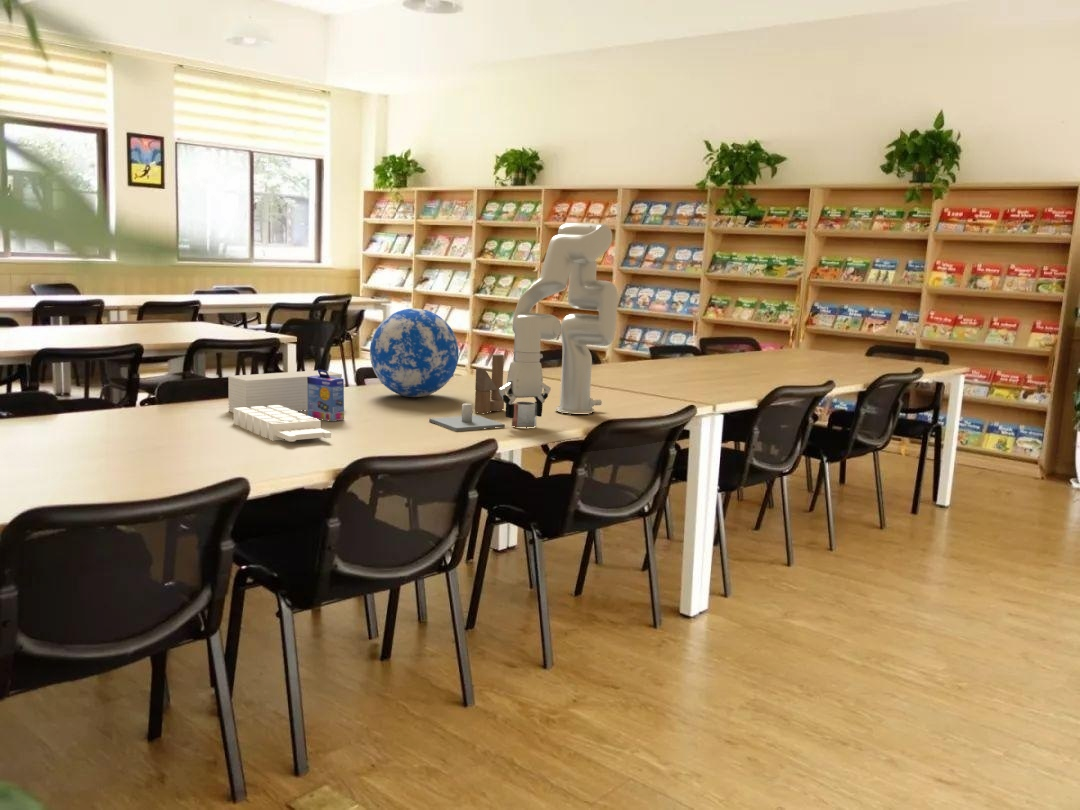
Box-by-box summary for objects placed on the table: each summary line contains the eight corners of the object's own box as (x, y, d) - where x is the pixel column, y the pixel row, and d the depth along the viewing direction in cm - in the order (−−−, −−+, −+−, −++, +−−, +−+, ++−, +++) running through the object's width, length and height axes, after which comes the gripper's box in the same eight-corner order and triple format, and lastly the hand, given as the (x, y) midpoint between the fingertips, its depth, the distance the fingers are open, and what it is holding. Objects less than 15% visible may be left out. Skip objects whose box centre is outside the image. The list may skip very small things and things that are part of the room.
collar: (527, 424, 280) (528, 400, 279) (539, 428, 275) (540, 404, 274) (508, 425, 276) (509, 402, 275) (520, 429, 271) (521, 405, 270)
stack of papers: (245, 417, 273) (245, 380, 271) (228, 412, 280) (228, 375, 278) (341, 408, 295) (341, 374, 293) (323, 403, 302) (323, 370, 301)
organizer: (278, 404, 269) (335, 425, 242) (278, 421, 269) (334, 444, 242) (233, 407, 260) (286, 429, 234) (233, 425, 261) (286, 448, 234)
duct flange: (476, 418, 286) (477, 398, 285) (504, 427, 273) (505, 407, 272) (429, 421, 277) (429, 401, 276) (456, 431, 264) (456, 410, 263)
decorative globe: (359, 391, 329) (360, 304, 325) (440, 389, 342) (443, 306, 337) (382, 405, 303) (384, 311, 298) (469, 402, 315) (472, 312, 310)
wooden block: (474, 413, 296) (476, 355, 293) (495, 409, 304) (497, 353, 301) (483, 414, 293) (485, 356, 291) (504, 410, 302) (506, 354, 299)
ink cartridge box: (305, 417, 275) (306, 368, 272) (319, 415, 279) (319, 366, 277) (331, 422, 270) (331, 371, 267) (344, 419, 274) (345, 370, 272)
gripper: (544, 356, 280) (541, 413, 283) (494, 356, 270) (491, 416, 273) (558, 359, 274) (555, 417, 277) (508, 359, 264) (505, 420, 267)
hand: (523, 416), depth 275 cm, fingers open, 9 cm apart
